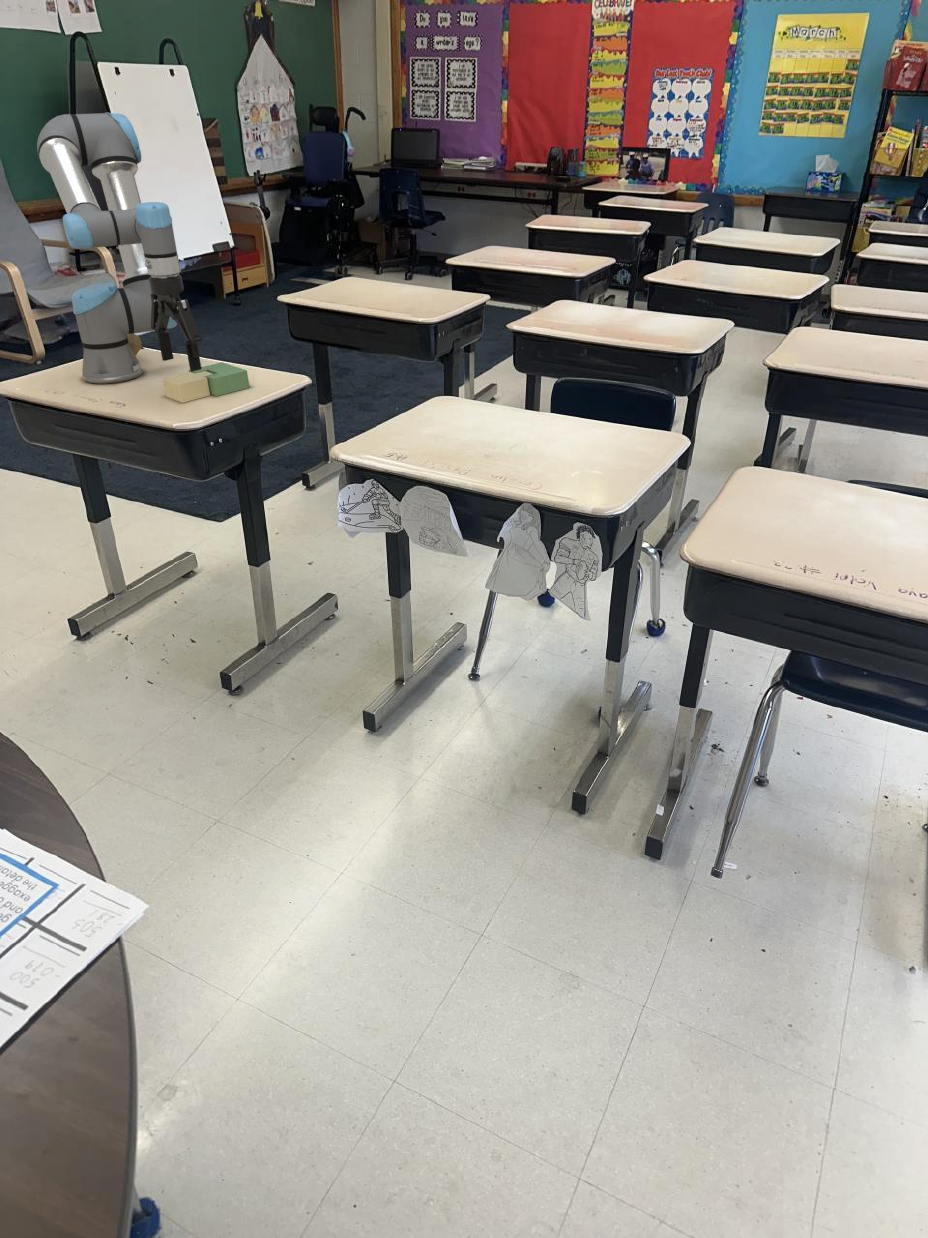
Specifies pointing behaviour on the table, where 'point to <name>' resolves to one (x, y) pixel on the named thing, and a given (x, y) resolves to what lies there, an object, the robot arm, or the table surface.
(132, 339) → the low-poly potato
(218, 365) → the green u-shaped block
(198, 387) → the cream pad
